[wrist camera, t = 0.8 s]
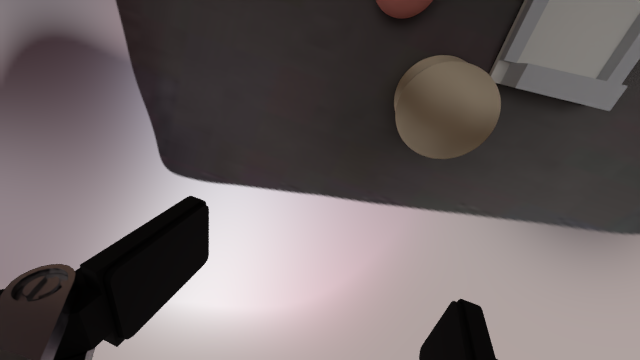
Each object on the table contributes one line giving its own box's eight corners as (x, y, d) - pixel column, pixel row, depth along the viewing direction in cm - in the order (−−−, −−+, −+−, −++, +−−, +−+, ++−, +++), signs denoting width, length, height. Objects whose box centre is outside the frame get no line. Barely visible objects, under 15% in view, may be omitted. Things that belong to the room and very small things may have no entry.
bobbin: (410, 46, 26) (410, 40, 18) (496, 66, 25) (535, 69, 17) (384, 124, 30) (375, 147, 22) (457, 146, 28) (475, 178, 21)
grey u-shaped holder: (554, -63, 20) (594, -97, 16) (685, -44, 19) (768, -74, 15) (485, 80, 25) (501, 84, 21) (585, 104, 24) (625, 114, 19)
